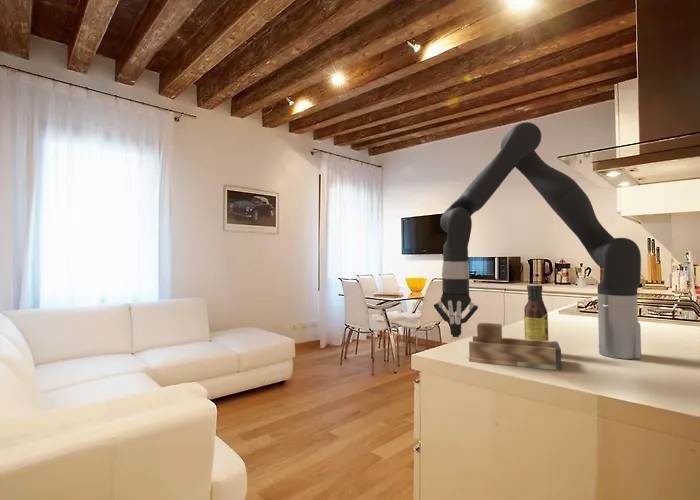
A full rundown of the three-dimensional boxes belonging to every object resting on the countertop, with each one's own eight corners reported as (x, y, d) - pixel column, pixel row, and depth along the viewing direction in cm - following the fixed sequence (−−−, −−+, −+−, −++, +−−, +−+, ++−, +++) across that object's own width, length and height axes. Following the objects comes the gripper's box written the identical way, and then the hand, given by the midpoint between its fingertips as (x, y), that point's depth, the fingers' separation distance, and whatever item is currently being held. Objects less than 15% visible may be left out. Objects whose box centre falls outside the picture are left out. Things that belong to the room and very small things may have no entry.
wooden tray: (557, 359, 103) (557, 341, 103) (561, 370, 93) (561, 350, 93) (473, 351, 112) (473, 334, 112) (469, 361, 102) (468, 342, 102)
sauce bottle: (551, 356, 106) (550, 285, 106) (528, 355, 107) (526, 285, 108) (544, 350, 112) (543, 284, 113) (522, 349, 114) (521, 284, 114)
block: (502, 352, 106) (501, 323, 106) (501, 357, 101) (500, 327, 101) (479, 350, 109) (479, 322, 109) (477, 355, 103) (477, 326, 103)
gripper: (480, 277, 110) (481, 336, 109) (435, 276, 115) (435, 332, 115) (478, 278, 103) (478, 341, 103) (430, 277, 109) (430, 337, 108)
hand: (455, 336), depth 109 cm, fingers closed
